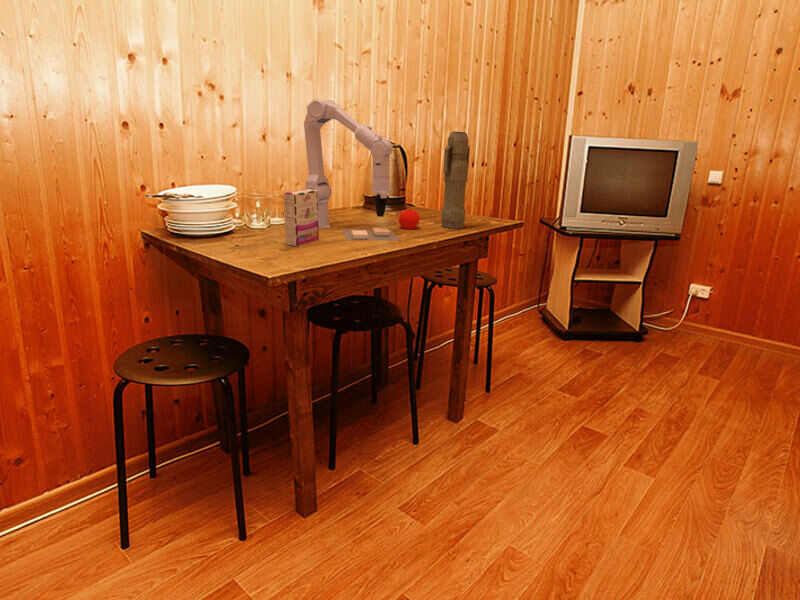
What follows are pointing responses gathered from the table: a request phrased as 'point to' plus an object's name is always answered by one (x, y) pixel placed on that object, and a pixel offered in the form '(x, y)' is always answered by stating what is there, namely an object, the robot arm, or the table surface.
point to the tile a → (359, 234)
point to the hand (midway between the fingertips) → (380, 216)
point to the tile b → (381, 231)
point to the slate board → (371, 236)
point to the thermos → (455, 180)
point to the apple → (409, 219)
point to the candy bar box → (301, 217)
